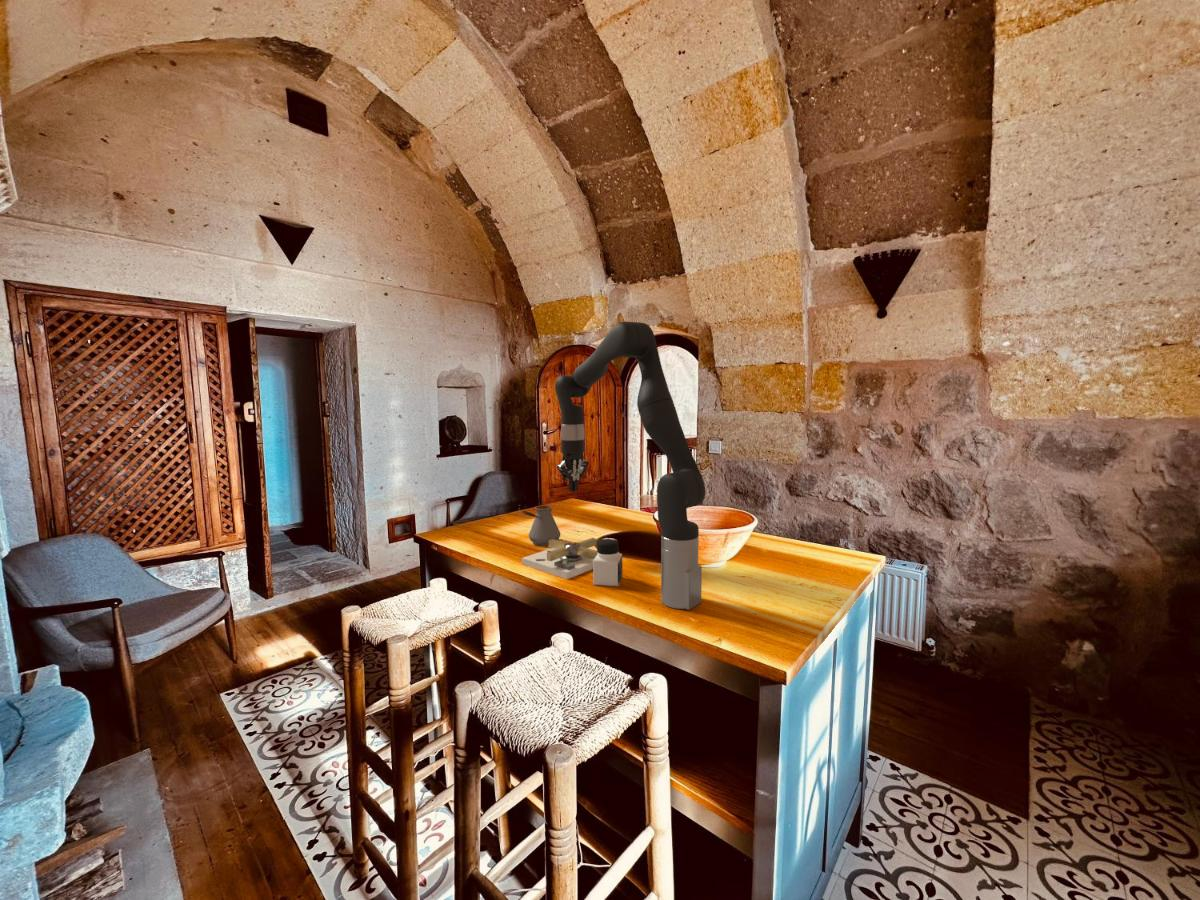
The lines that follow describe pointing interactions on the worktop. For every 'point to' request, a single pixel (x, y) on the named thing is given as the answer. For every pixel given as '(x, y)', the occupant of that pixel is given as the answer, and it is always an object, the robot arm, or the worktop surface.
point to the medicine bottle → (607, 563)
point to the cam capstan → (571, 550)
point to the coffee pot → (543, 526)
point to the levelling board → (558, 565)
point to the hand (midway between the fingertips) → (573, 491)
